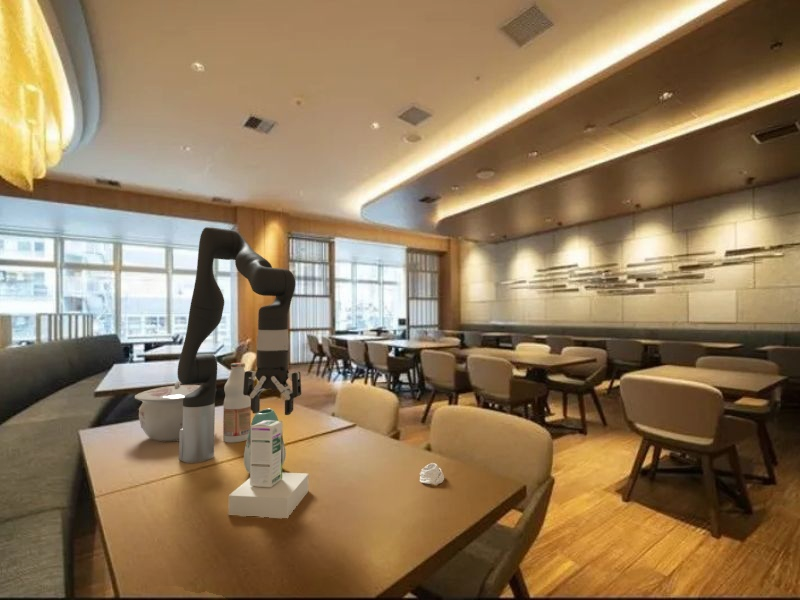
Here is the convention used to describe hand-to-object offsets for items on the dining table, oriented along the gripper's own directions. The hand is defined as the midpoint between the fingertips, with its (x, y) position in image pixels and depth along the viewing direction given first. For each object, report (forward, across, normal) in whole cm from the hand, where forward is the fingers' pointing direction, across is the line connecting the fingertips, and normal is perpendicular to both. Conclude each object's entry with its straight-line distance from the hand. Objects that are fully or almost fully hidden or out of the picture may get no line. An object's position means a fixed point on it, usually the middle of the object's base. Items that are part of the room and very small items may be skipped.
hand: (272, 413), depth 97 cm
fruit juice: (+22, -37, +44) cm, 61 cm away
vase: (+22, -11, +17) cm, 30 cm away
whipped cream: (+22, +38, +19) cm, 47 cm away
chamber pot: (+22, -62, +44) cm, 79 cm away
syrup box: (+17, -1, 0) cm, 17 cm away
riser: (+22, 0, 0) cm, 22 cm away
